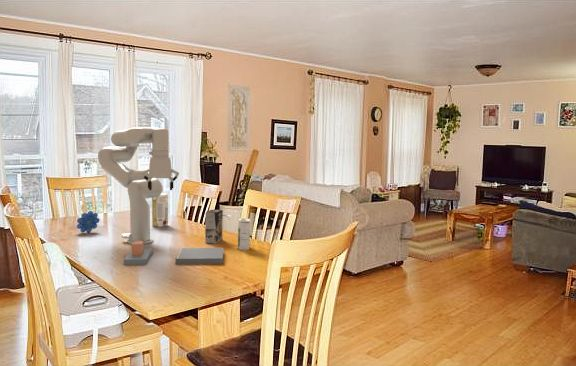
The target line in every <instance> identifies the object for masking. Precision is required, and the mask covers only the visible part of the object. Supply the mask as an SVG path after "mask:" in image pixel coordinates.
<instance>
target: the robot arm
mask: <svg viewBox="0 0 576 366" xmlns="http://www.w3.org/2000/svg"><path fill="white" fill-rule="evenodd" d="M169 139H170V138H169V129H168V128H164V127H161V128H160V127H149V126H148V127H147V126H146V127H142V126H141V127H140V126H139V127H131V128H128V129H122V130H117V131H115V132H113V133H112V135H111V137H110V141H111V143H112V145H114V146H106V147H103V148H100V150H99V151H98V153H97V159H98V162H99V165H100V166H101V168H102V169H103V171H105V172H106V173H107V174H108V175H110V176H111V177H113V178H114V179H115V180H116V181H117V182H118V183H119V184H120V185H121V186H122V187H123V188H125V189H127V195H128V200H129V212H130V213H129V216H130V217H129V218H130V219H129V222H130V223H129V224H130V225H129V226H130V230H129V231H130V233H122V234H121V239H122V238H123V239H127V243H128V244H129V245H132V243H133V242H134V241H144V245H147V244H151V243H153V242H154V238H153V237H151V210H150V209H151V206H150V204H149V203H148V201H147V199H150V198H151V199H152V197H157V196H159V195H161V193H163V190H164V189H163V185H162V182H161V181H160V179H168V180H169V190H170V191H172V190H173V189H174V182H175V181H176V180H177V179H178V176H179V175H180V172H178V171H177V170H175V169H173V168H172V161H171V157H170V156H169V154H170V153H169V152H170V151H169V149H170V148H169ZM140 144H151V149H152V150H151V151H149V152H148V154H149V155H150V159H149V165H148V166H149V168H148V169H144V168H143V169H142V168H139V169H132V168H129V167H128V166H126V165H125V164H124V163H128V162H130V161H131V160H132V159H133V157H134V155H135V154H136V152H137V150H138V148H139V146H140ZM172 174H174V176H173V177H172Z"/></svg>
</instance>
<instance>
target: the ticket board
mask: <svg viewBox="0 0 576 366" xmlns="http://www.w3.org/2000/svg"><path fill="white" fill-rule="evenodd" d="M174 261H175V262H174V263H175V265H209V264H210V265H223V264H224V247H180V248H179V249H178V252H177V254H176V257H175V260H174Z"/></svg>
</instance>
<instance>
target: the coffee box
mask: <svg viewBox="0 0 576 366" xmlns="http://www.w3.org/2000/svg"><path fill="white" fill-rule="evenodd" d="M223 210H224V209H210V210H208V211H206V212H205V232H204V233H205V237H204V238H205V241H204V242H205V244H218V243H219V242H221V241H223V213H224V212H223Z"/></svg>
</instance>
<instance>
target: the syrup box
mask: <svg viewBox="0 0 576 366" xmlns="http://www.w3.org/2000/svg"><path fill="white" fill-rule="evenodd" d="M250 242H251V218H245V217H243V218H238V229H237V250H238V251H240V250H241V251H242V250H243V251H246V250H247V251H248V250H250V246H251V245H250V244H251V243H250Z"/></svg>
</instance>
